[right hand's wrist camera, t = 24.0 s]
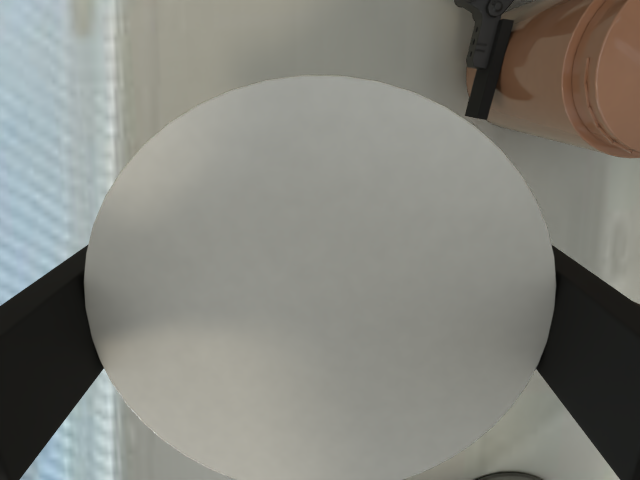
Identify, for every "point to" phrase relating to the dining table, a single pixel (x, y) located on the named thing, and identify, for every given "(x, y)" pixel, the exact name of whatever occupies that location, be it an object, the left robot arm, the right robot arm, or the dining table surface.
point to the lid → (319, 282)
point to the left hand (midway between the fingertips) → (543, 127)
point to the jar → (572, 74)
